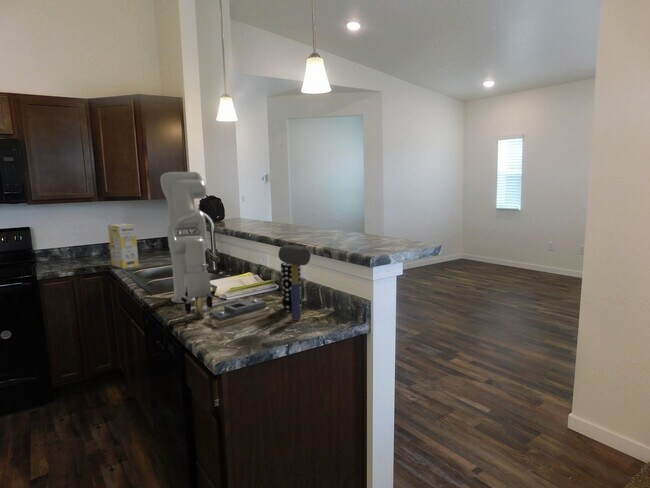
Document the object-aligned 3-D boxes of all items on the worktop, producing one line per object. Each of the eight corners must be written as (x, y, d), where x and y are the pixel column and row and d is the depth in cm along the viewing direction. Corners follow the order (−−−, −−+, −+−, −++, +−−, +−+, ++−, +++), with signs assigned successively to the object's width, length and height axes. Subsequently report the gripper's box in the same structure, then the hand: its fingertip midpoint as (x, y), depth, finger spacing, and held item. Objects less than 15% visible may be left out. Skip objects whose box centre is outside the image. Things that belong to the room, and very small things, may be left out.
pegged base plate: (209, 316, 170) (208, 308, 169) (254, 304, 185) (254, 296, 184) (220, 321, 164) (219, 312, 164) (265, 308, 179) (265, 300, 179)
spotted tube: (296, 312, 179) (295, 266, 176) (279, 310, 182) (277, 265, 179) (304, 307, 187) (303, 262, 184) (287, 305, 190) (286, 261, 187)
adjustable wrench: (237, 300, 201) (237, 297, 201) (244, 303, 196) (244, 299, 196) (186, 312, 184) (186, 308, 184) (193, 315, 180) (193, 311, 179)
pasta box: (138, 265, 288) (135, 224, 284) (122, 268, 281) (119, 226, 277) (127, 262, 301) (123, 223, 296) (111, 265, 293) (107, 224, 289)
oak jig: (205, 322, 170) (204, 317, 169) (256, 308, 187) (256, 303, 187) (218, 327, 163) (218, 322, 162) (270, 312, 180) (270, 308, 180)
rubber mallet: (279, 318, 172) (276, 245, 168) (293, 314, 178) (290, 243, 173) (299, 325, 164) (297, 248, 159) (313, 320, 169) (311, 245, 164)
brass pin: (194, 317, 176) (192, 294, 174) (201, 315, 178) (199, 292, 176) (198, 319, 174) (196, 295, 172) (204, 317, 176) (203, 293, 174)
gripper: (210, 264, 181) (213, 303, 184) (171, 270, 169) (174, 312, 172) (220, 266, 176) (222, 306, 178) (180, 273, 164) (183, 316, 166)
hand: (199, 309), depth 175 cm, fingers open, 9 cm apart
